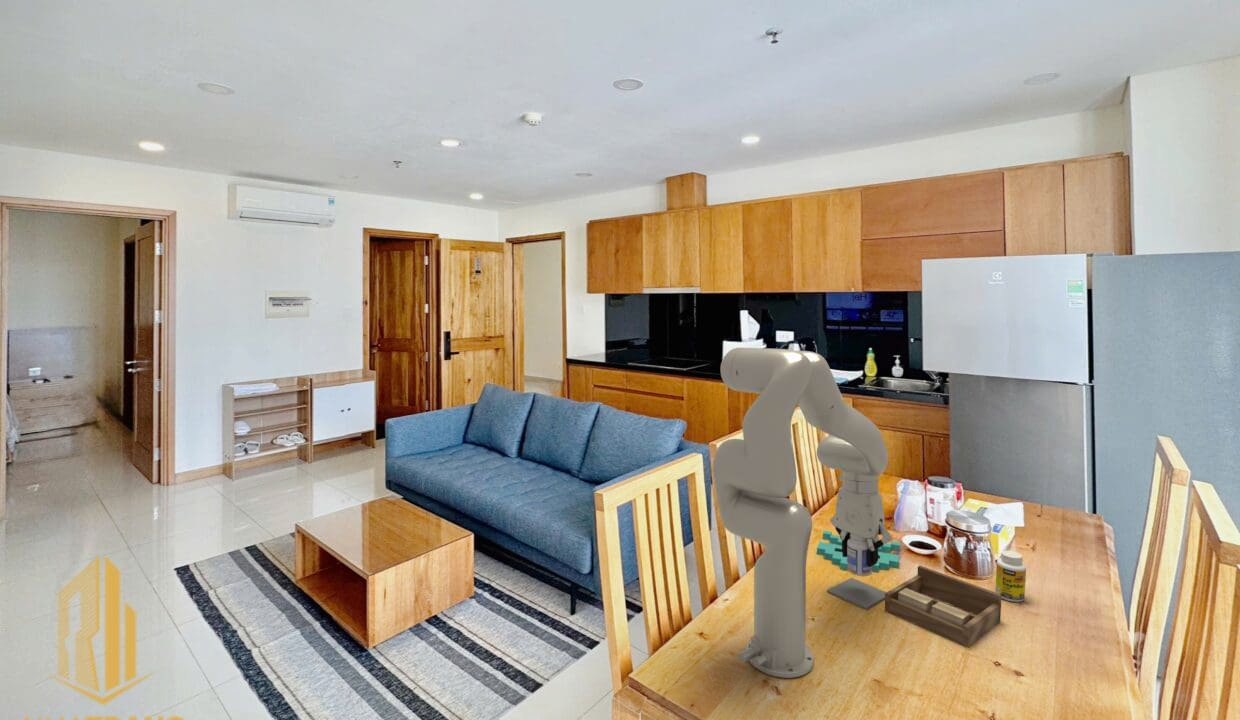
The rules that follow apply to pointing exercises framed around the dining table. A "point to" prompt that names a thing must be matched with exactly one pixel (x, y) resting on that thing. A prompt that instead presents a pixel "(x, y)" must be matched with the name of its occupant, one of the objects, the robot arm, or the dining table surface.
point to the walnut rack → (952, 593)
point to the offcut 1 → (916, 600)
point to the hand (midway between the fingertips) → (859, 559)
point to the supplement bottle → (1011, 576)
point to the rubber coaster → (858, 593)
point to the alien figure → (837, 558)
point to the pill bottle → (858, 556)
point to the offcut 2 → (950, 614)
